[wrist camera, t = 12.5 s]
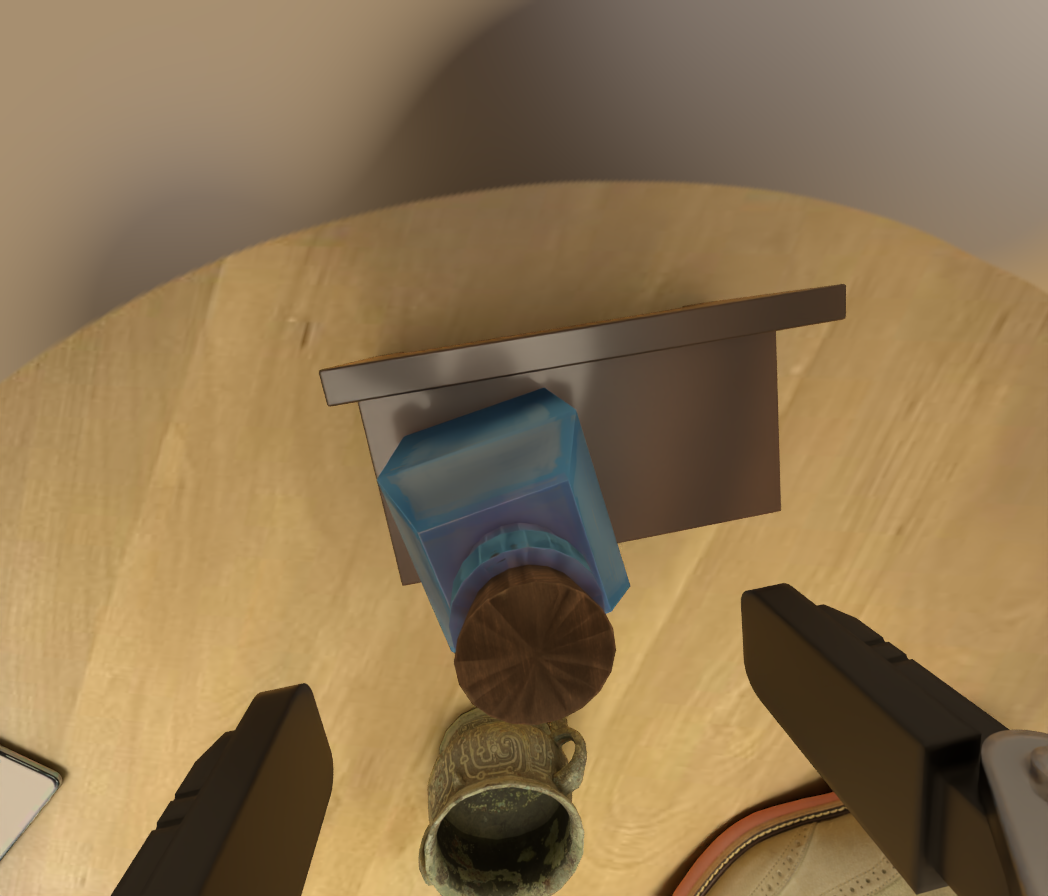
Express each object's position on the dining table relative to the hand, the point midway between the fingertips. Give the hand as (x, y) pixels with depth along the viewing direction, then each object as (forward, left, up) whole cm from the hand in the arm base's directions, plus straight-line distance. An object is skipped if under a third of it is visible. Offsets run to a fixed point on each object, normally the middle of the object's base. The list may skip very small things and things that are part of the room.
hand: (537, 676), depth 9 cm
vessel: (+17, -11, -19) cm, 28 cm away
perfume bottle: (0, 0, -13) cm, 13 cm away
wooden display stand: (+1, +4, -19) cm, 19 cm away
